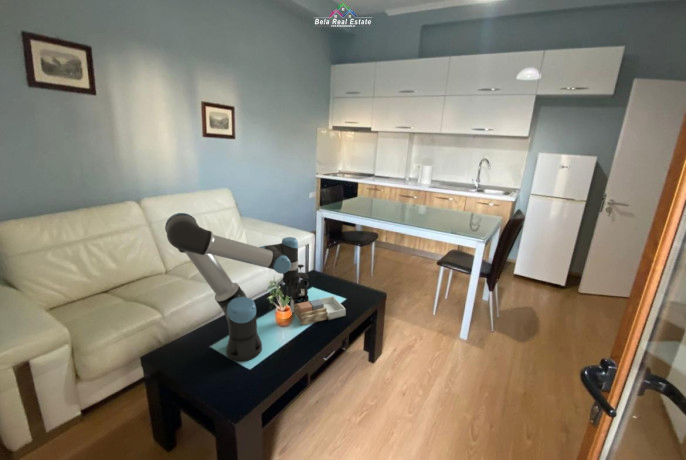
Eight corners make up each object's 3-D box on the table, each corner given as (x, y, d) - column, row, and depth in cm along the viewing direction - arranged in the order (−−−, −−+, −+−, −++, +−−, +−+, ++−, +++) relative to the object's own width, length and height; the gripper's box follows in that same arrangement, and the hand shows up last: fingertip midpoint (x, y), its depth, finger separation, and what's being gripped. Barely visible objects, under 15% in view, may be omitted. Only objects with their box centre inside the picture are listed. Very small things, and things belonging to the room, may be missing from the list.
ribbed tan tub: (302, 325, 162) (302, 315, 160) (293, 312, 174) (293, 303, 172) (327, 319, 168) (327, 309, 166) (317, 306, 180) (317, 297, 178)
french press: (313, 302, 184) (313, 265, 178) (300, 308, 177) (300, 270, 171) (299, 295, 192) (298, 260, 185) (287, 301, 185) (286, 264, 178)
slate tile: (313, 311, 167) (313, 306, 166) (309, 306, 172) (309, 301, 172) (323, 308, 170) (323, 303, 169) (319, 303, 175) (319, 298, 174)
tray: (328, 319, 167) (328, 313, 166) (317, 305, 181) (317, 299, 180) (345, 315, 172) (346, 309, 170) (333, 302, 185) (333, 296, 184)
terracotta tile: (301, 314, 164) (301, 308, 164) (297, 308, 170) (297, 303, 169) (312, 311, 167) (312, 306, 166) (308, 306, 172) (308, 301, 171)
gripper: (279, 273, 152) (281, 316, 159) (305, 268, 158) (306, 311, 164) (275, 267, 158) (277, 309, 165) (300, 263, 164) (301, 304, 171)
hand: (291, 310), depth 165 cm, fingers closed
